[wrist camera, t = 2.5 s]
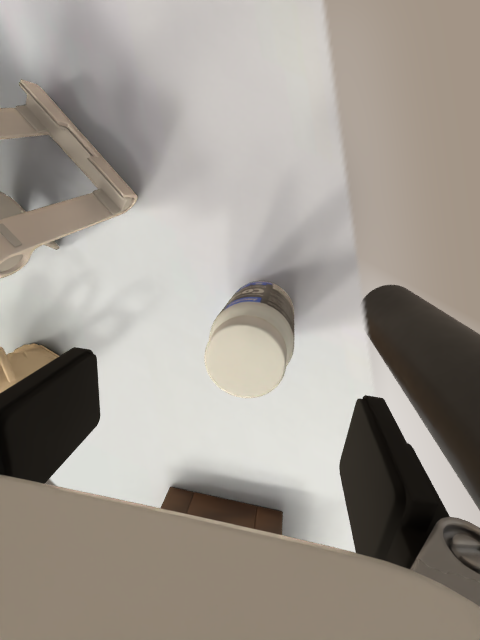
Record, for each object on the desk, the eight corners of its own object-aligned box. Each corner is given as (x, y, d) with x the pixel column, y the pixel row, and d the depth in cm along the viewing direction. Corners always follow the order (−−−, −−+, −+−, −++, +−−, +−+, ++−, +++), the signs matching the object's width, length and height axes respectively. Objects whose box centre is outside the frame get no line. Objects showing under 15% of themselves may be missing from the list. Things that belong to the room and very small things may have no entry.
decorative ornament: (-4, 371, 28) (-67, 405, 23) (45, 318, 26) (-14, 343, 21) (29, 403, 29) (-26, 442, 24) (81, 354, 26) (31, 387, 21)
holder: (282, 511, 28) (281, 544, 25) (267, 587, 32) (264, 623, 29) (170, 486, 29) (157, 514, 27) (167, 562, 33) (155, 594, 30)
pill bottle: (263, 265, 21) (247, 294, 14) (307, 315, 22) (316, 369, 14) (216, 308, 23) (177, 356, 15) (258, 353, 24) (241, 421, 16)
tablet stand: (142, 195, 21) (54, 183, 13) (78, 270, 24) (-27, 296, 16) (49, 90, 20) (-107, 9, 12) (-8, 180, 23) (-167, 161, 15)
